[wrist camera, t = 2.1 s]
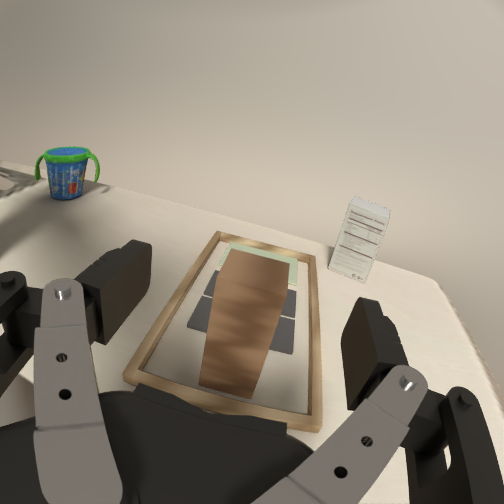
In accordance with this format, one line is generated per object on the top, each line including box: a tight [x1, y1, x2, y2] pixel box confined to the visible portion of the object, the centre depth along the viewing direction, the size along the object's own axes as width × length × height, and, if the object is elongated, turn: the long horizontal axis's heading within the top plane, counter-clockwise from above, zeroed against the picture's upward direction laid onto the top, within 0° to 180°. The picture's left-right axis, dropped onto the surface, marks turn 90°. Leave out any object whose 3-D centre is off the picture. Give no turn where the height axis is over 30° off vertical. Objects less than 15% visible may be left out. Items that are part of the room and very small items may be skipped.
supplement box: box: [328, 196, 390, 283], centre depth 54 cm, size 7×7×13 cm
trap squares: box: [187, 270, 296, 354], centre depth 39 cm, size 12×13×1 cm
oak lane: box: [123, 231, 322, 433], centre depth 40 cm, size 18×35×1 cm, turn 171°
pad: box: [219, 242, 298, 285], centre depth 51 cm, size 12×8×1 cm
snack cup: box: [35, 147, 100, 200], centre depth 58 cm, size 16×10×10 cm
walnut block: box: [199, 248, 290, 399], centre depth 27 cm, size 5×5×12 cm
